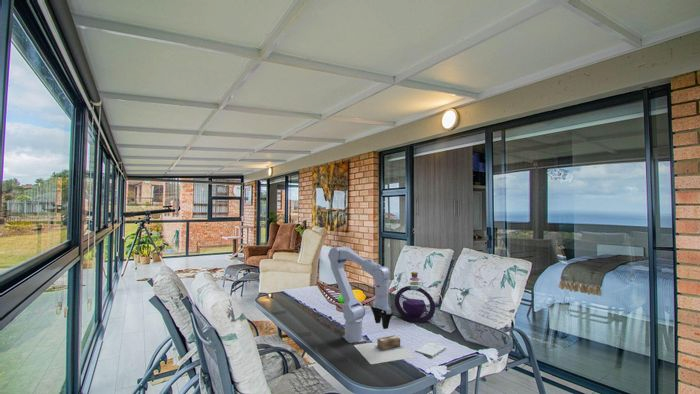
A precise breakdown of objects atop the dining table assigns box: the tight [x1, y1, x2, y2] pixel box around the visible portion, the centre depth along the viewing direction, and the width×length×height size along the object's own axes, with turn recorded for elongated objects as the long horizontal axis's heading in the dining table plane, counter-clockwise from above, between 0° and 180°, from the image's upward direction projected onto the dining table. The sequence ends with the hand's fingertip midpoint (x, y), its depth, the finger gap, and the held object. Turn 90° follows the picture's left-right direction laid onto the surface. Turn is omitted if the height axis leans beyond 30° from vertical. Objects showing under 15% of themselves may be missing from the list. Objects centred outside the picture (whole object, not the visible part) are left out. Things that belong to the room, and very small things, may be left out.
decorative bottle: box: [394, 271, 436, 324], centre depth 202 cm, size 22×21×25 cm
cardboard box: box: [376, 335, 401, 350], centre depth 159 cm, size 9×4×4 cm, turn 118°
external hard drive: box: [415, 342, 447, 359], centre depth 156 cm, size 2×8×12 cm
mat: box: [353, 341, 416, 365], centre depth 155 cm, size 20×20×1 cm
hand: (381, 325), depth 159 cm, fingers open, 7 cm apart
